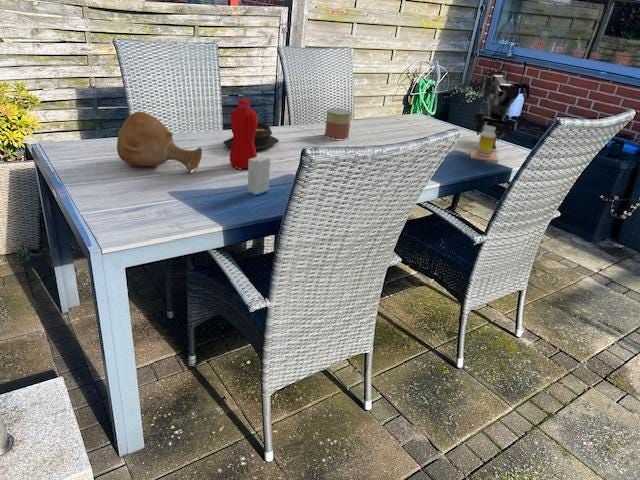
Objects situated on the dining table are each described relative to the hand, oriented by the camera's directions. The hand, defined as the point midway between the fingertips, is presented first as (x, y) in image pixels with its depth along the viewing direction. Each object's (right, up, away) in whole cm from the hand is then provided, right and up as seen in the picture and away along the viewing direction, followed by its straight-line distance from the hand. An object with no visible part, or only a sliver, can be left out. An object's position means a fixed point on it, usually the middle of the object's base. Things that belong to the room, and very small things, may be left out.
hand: (487, 137), depth 224 cm
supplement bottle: (0, -7, +4) cm, 8 cm away
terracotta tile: (0, -8, +4) cm, 9 cm away
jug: (-133, -20, -43) cm, 142 cm away
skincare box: (-96, -30, -56) cm, 115 cm away
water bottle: (-104, -19, -35) cm, 111 cm away
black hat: (-104, -6, -11) cm, 105 cm away
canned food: (-67, +2, +12) cm, 68 cm away
